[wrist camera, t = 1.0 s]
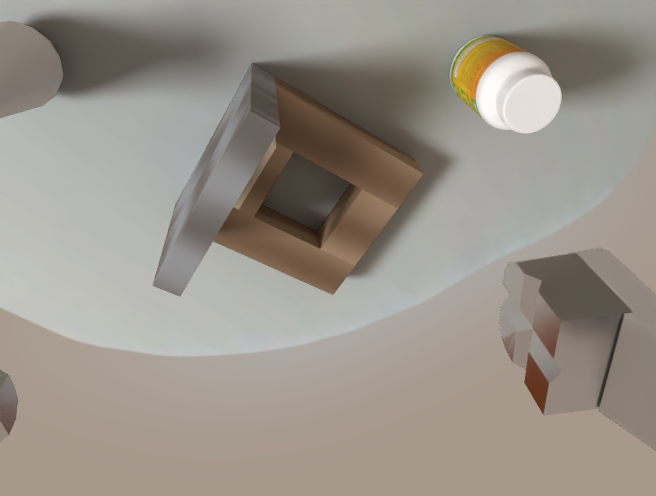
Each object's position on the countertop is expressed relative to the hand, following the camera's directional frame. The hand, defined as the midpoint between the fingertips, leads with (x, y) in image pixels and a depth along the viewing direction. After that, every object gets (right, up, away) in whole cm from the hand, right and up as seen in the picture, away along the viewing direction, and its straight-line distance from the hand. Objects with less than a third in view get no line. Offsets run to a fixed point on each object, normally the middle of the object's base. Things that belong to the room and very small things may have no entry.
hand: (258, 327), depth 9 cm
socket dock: (-1, +7, +39) cm, 39 cm away
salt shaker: (-21, +15, +31) cm, 40 cm away
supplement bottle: (+14, +16, +35) cm, 41 cm away
